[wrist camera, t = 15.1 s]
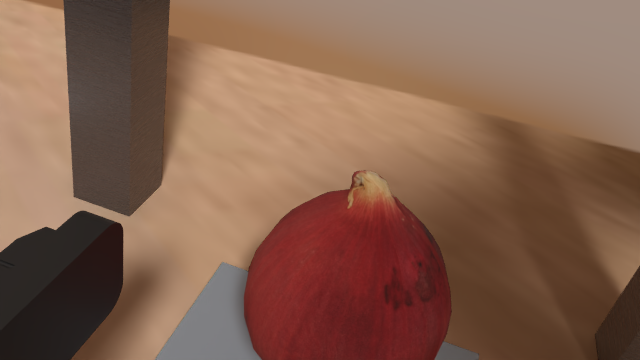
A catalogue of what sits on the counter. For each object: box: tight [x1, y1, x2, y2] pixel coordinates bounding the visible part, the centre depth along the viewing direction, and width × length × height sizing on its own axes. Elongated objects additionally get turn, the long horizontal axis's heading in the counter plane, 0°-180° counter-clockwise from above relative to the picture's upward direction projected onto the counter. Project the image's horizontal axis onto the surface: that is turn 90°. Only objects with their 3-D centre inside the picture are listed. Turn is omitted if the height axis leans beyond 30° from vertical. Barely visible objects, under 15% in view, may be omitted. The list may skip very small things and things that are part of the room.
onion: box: [244, 170, 452, 360], centre depth 17 cm, size 6×6×8 cm
